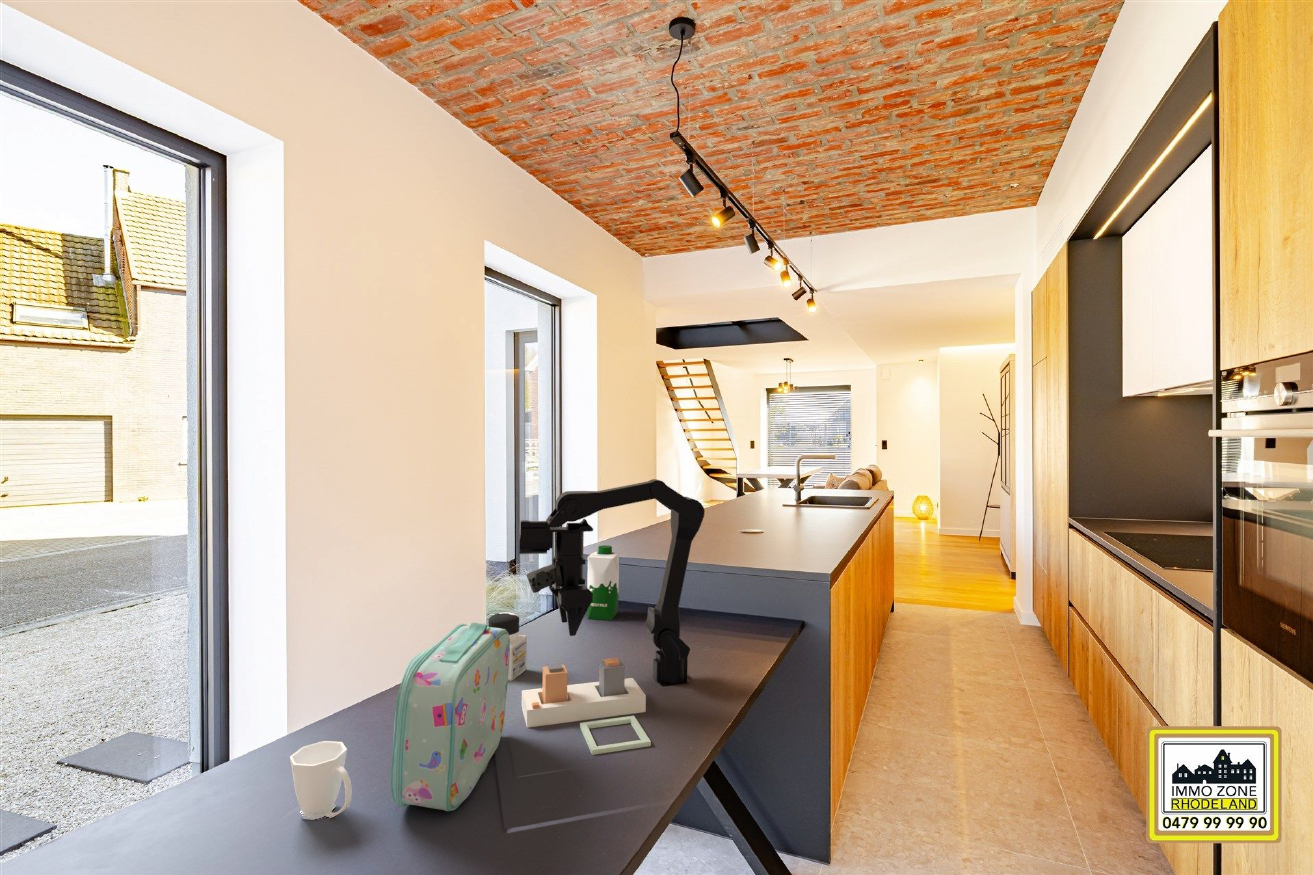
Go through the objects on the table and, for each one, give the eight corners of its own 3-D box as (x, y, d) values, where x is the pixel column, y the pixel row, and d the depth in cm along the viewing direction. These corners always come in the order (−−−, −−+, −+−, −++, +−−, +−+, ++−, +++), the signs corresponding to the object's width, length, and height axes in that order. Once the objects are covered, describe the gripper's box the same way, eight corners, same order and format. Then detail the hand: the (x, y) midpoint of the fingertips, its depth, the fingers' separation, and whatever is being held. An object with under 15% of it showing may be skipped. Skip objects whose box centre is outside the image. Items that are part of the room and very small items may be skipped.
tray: (633, 722, 112) (634, 715, 112) (650, 748, 102) (650, 741, 102) (579, 729, 109) (580, 722, 109) (592, 757, 99) (592, 750, 99)
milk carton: (620, 612, 182) (621, 545, 182) (613, 621, 173) (614, 551, 174) (592, 611, 184) (593, 544, 184) (583, 619, 175) (584, 549, 175)
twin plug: (618, 699, 120) (619, 655, 120) (624, 708, 117) (624, 662, 117) (598, 702, 119) (599, 657, 119) (603, 710, 115) (604, 665, 115)
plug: (542, 709, 116) (542, 663, 116) (563, 706, 117) (563, 661, 117) (545, 718, 112) (545, 671, 112) (566, 715, 113) (567, 668, 113)
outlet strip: (632, 695, 124) (632, 674, 124) (645, 714, 115) (645, 692, 115) (521, 708, 117) (521, 687, 117) (526, 730, 108) (527, 706, 108)
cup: (325, 791, 89) (326, 735, 89) (372, 811, 84) (373, 752, 84) (276, 817, 83) (277, 757, 83) (324, 840, 78) (325, 777, 78)
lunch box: (454, 729, 108) (456, 608, 108) (511, 731, 108) (513, 609, 108) (381, 825, 81) (384, 663, 81) (458, 827, 81) (460, 665, 81)
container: (512, 682, 129) (512, 621, 129) (478, 679, 131) (479, 618, 131) (526, 669, 137) (527, 611, 137) (494, 666, 138) (495, 608, 138)
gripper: (524, 546, 133) (523, 618, 133) (535, 563, 115) (534, 647, 115) (575, 544, 136) (574, 615, 136) (593, 560, 118) (592, 641, 118)
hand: (568, 628), depth 126 cm, fingers open, 9 cm apart
